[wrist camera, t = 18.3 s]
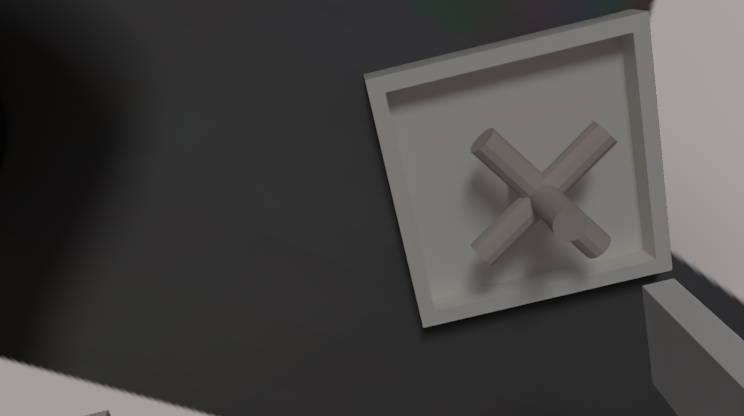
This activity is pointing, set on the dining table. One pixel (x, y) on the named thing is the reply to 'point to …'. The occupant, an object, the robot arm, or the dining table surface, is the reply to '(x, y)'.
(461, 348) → the dining table surface
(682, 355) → the robot arm
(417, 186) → the tray
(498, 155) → the pipe connector
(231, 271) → the dining table surface
